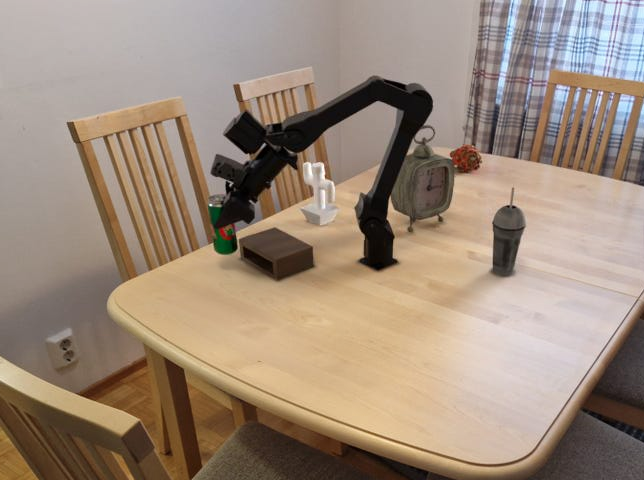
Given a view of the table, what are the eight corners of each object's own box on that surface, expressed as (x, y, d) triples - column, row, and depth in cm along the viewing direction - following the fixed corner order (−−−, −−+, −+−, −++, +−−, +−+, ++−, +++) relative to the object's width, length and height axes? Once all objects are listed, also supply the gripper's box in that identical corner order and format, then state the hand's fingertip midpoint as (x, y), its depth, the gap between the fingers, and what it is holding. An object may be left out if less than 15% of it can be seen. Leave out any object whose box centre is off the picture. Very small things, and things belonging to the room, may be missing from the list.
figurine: (323, 230, 161) (321, 171, 153) (297, 220, 166) (293, 162, 158) (343, 222, 166) (342, 164, 158) (317, 212, 171) (314, 156, 162)
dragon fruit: (478, 181, 200) (449, 176, 207) (492, 160, 201) (463, 156, 209) (467, 161, 193) (438, 158, 201) (482, 140, 195) (452, 137, 203)
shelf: (313, 266, 145) (313, 246, 142) (277, 280, 139) (276, 259, 136) (276, 246, 153) (275, 227, 150) (240, 259, 147) (238, 238, 144)
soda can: (216, 246, 142) (208, 193, 135) (239, 245, 142) (232, 193, 135) (212, 256, 138) (204, 202, 131) (236, 255, 138) (229, 202, 131)
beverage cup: (521, 267, 148) (534, 183, 137) (515, 281, 143) (528, 194, 131) (490, 262, 150) (500, 178, 139) (483, 275, 144) (493, 189, 133)
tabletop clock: (409, 237, 160) (414, 134, 146) (386, 225, 165) (388, 125, 151) (450, 223, 168) (459, 124, 154) (427, 212, 174) (432, 116, 159)
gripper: (233, 128, 135) (187, 182, 139) (229, 156, 120) (178, 215, 124) (274, 164, 140) (229, 214, 145) (276, 195, 126) (225, 250, 130)
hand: (215, 222), depth 136 cm, fingers closed on soda can, 5 cm apart
